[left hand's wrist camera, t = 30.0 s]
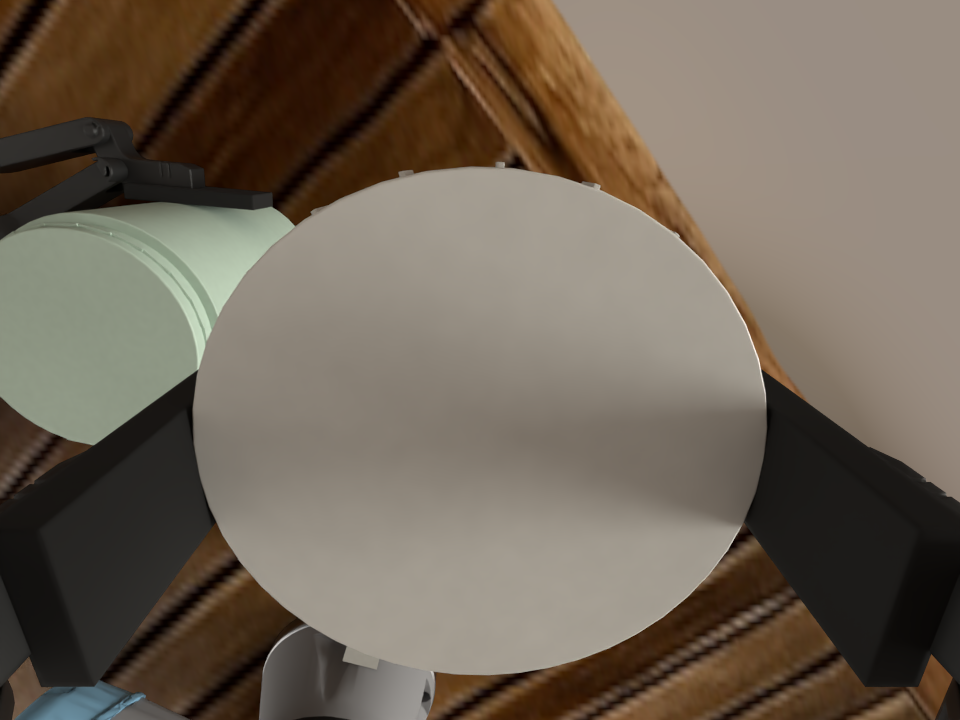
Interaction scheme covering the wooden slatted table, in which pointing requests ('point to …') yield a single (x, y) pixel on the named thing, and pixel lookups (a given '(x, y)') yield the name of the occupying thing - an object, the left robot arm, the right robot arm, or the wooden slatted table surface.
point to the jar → (117, 306)
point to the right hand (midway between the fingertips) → (268, 300)
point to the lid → (479, 420)
